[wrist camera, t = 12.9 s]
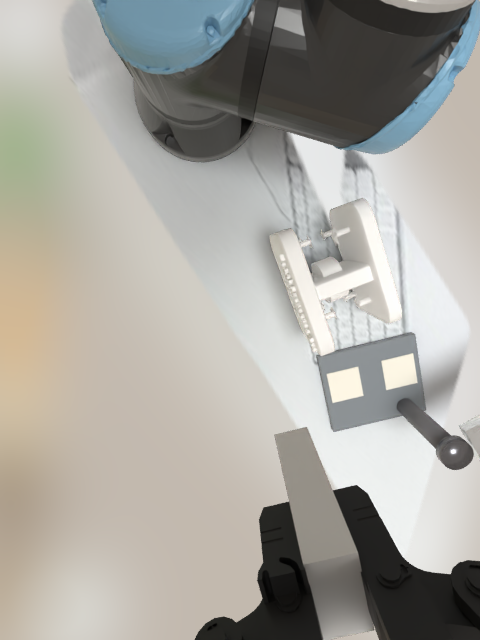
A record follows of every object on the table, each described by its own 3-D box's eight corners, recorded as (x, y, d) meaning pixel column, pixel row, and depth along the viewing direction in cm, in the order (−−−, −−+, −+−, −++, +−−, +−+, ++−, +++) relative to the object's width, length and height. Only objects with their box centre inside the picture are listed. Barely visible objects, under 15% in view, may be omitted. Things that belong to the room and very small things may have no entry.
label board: (316, 355, 51) (341, 388, 39) (411, 332, 51) (465, 359, 39) (331, 428, 54) (359, 480, 42) (422, 407, 53) (476, 453, 42)
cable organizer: (369, 309, 50) (410, 329, 39) (299, 336, 51) (319, 363, 39) (337, 206, 47) (371, 194, 36) (263, 236, 47) (272, 234, 36)
